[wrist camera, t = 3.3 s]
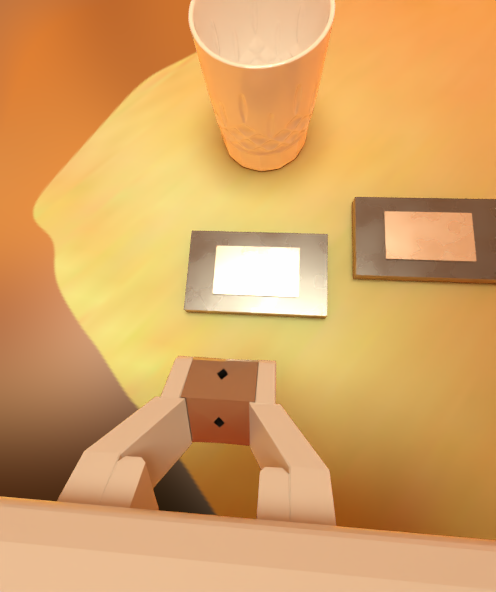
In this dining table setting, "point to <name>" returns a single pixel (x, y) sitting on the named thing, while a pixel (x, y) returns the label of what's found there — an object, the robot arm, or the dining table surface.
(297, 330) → the dining table surface
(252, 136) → the white cup
